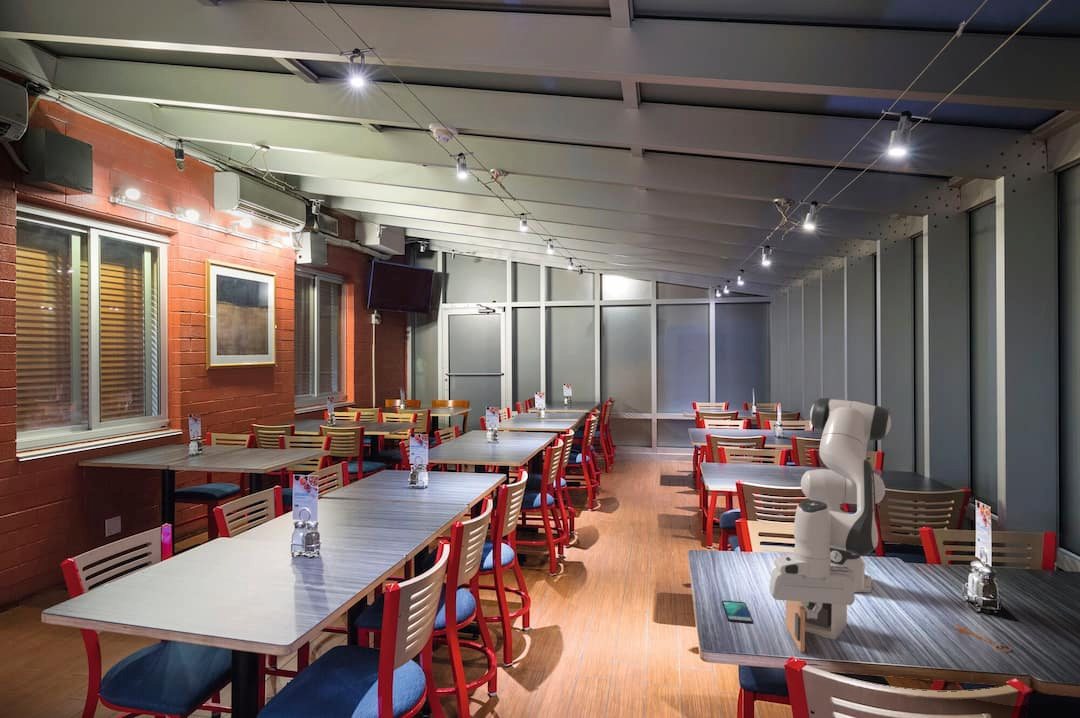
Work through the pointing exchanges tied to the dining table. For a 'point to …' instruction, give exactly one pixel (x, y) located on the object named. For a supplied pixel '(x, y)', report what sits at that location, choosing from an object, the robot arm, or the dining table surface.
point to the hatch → (796, 622)
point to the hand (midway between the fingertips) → (811, 618)
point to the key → (965, 631)
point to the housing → (827, 620)
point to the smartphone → (737, 612)
